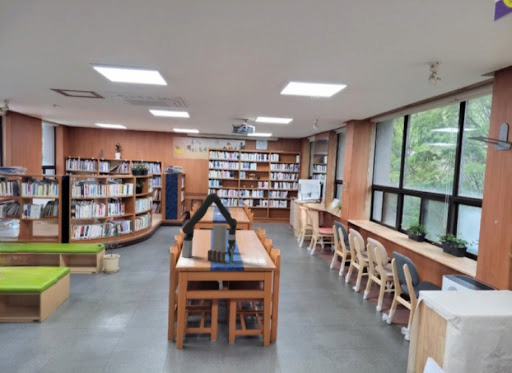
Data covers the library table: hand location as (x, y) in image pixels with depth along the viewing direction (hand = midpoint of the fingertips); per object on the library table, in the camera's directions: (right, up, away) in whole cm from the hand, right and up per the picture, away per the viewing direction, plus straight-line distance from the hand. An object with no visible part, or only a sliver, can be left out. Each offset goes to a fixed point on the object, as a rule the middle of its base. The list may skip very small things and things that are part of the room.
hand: (231, 255), depth 308 cm
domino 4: (-8, -6, -5) cm, 11 cm away
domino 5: (0, -6, 0) cm, 6 cm away
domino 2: (-17, -5, -1) cm, 18 cm away
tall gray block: (-16, -3, +31) cm, 35 cm away
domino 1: (-22, -5, +1) cm, 22 cm away
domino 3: (-12, -5, -3) cm, 14 cm away
